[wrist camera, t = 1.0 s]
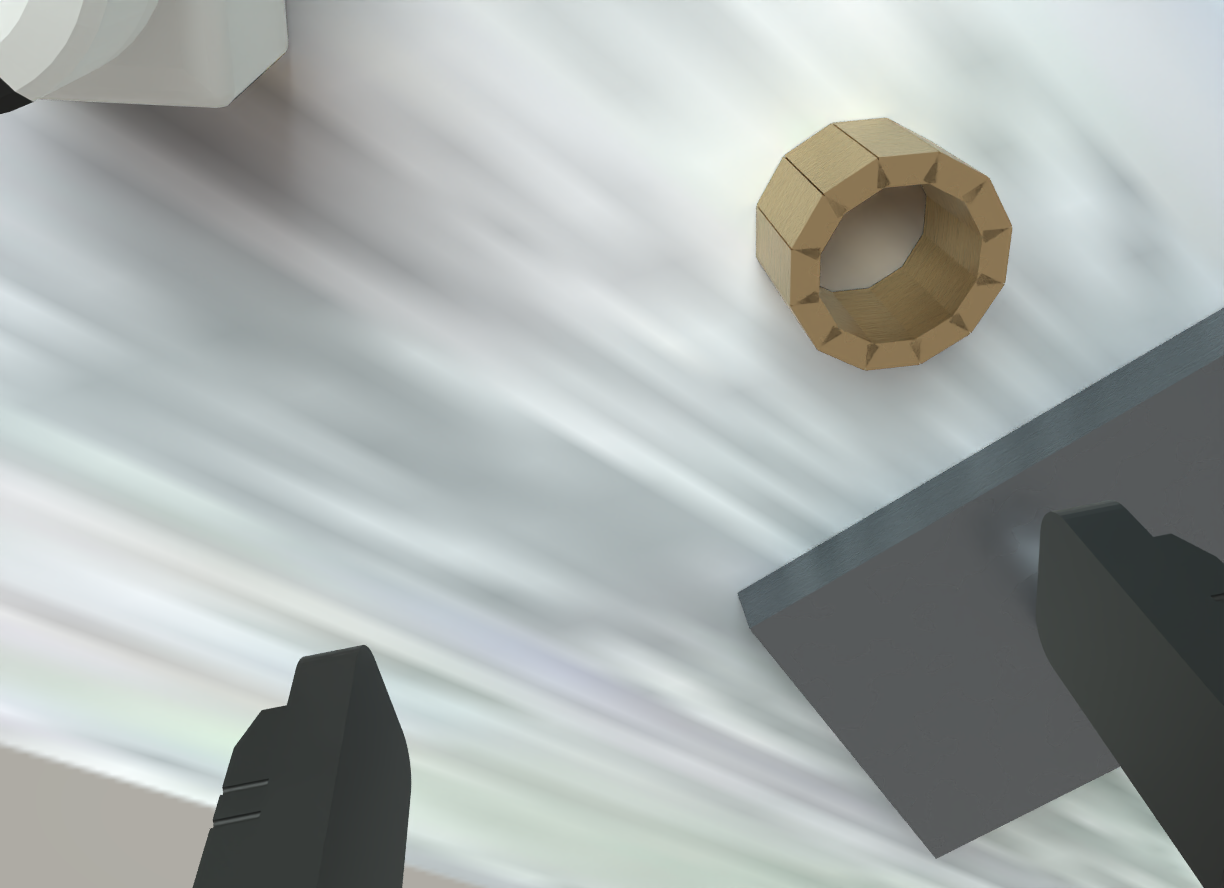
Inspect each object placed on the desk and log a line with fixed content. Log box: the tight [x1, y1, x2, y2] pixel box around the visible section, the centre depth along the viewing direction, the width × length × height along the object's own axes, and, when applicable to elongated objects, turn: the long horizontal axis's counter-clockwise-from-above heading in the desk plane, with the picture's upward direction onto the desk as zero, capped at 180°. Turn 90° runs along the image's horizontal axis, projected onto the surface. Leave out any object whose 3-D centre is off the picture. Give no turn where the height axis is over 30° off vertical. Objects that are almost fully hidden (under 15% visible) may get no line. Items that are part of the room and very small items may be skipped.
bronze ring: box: [756, 118, 1012, 370], centre depth 29 cm, size 6×6×4 cm
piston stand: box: [738, 308, 1224, 859], centre depth 35 cm, size 20×16×9 cm
